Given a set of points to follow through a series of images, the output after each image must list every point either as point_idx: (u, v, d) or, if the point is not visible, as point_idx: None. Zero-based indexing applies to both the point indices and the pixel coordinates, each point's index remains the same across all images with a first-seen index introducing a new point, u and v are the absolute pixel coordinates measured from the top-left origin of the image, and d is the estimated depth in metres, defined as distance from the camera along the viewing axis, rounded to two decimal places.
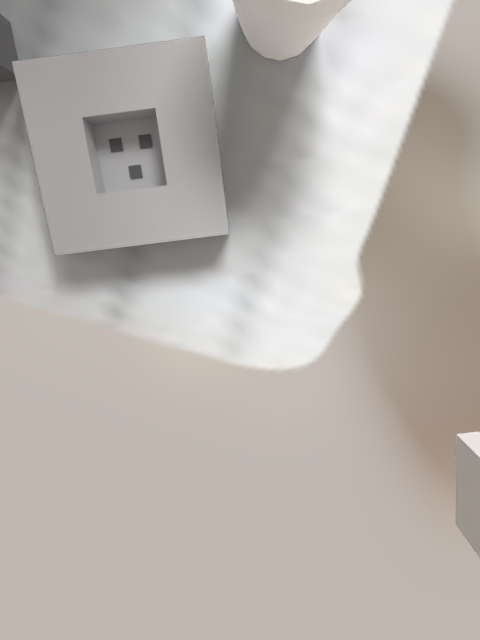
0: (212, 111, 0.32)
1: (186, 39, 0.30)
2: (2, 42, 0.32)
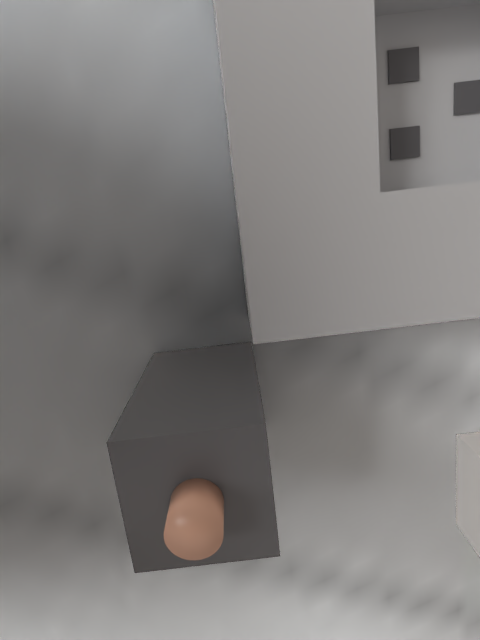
0: None
1: None
2: (202, 364, 0.15)
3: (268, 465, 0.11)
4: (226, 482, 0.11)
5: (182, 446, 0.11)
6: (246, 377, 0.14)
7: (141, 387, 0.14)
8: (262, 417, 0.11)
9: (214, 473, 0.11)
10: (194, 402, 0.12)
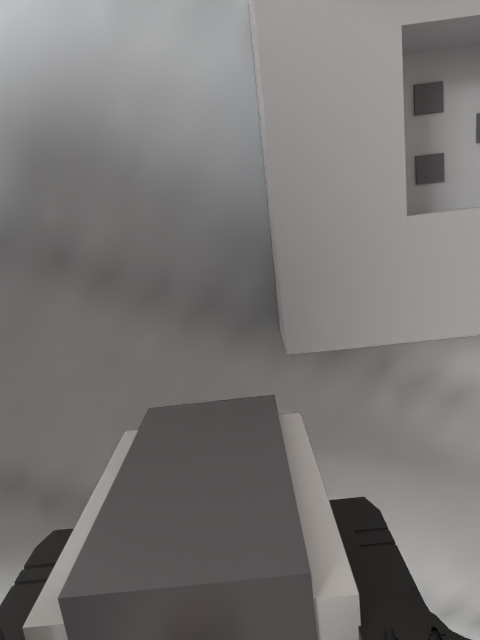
0: None
1: None
2: (211, 432, 0.11)
3: (314, 634, 0.07)
4: None
5: (178, 605, 0.07)
6: (272, 463, 0.10)
7: (125, 472, 0.10)
8: (304, 556, 0.07)
9: None
10: (198, 512, 0.08)
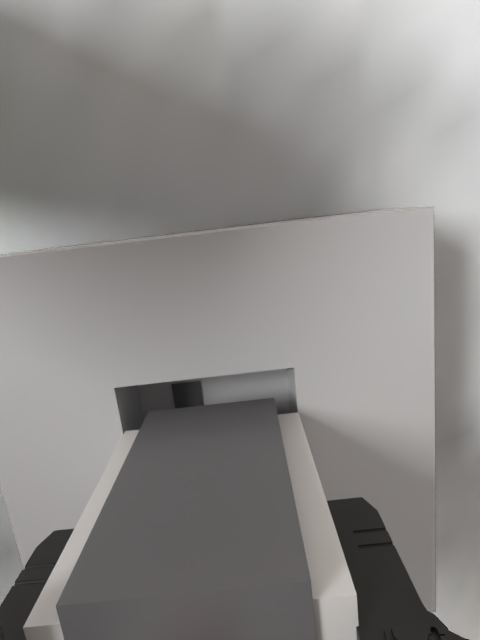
0: (113, 247, 0.12)
1: None
2: (210, 436, 0.11)
3: None
4: None
5: (176, 613, 0.07)
6: (271, 467, 0.10)
7: (124, 477, 0.10)
8: (304, 563, 0.07)
9: None
10: (197, 517, 0.08)
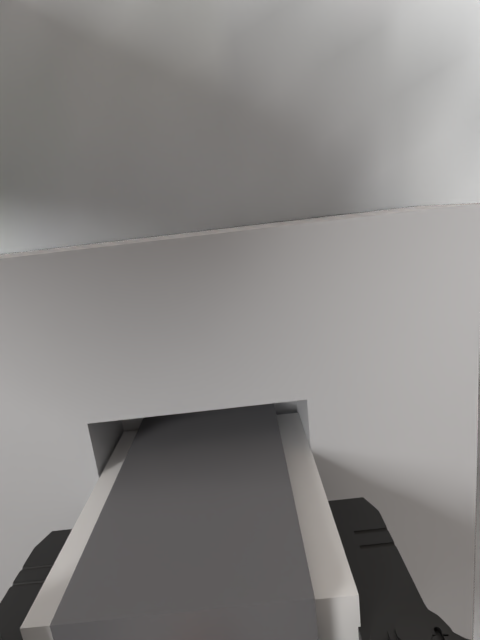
0: (83, 252, 0.10)
1: None
2: (209, 441, 0.11)
3: None
4: None
5: (176, 632, 0.06)
6: (272, 474, 0.09)
7: (121, 485, 0.10)
8: (307, 579, 0.07)
9: None
10: (196, 529, 0.08)
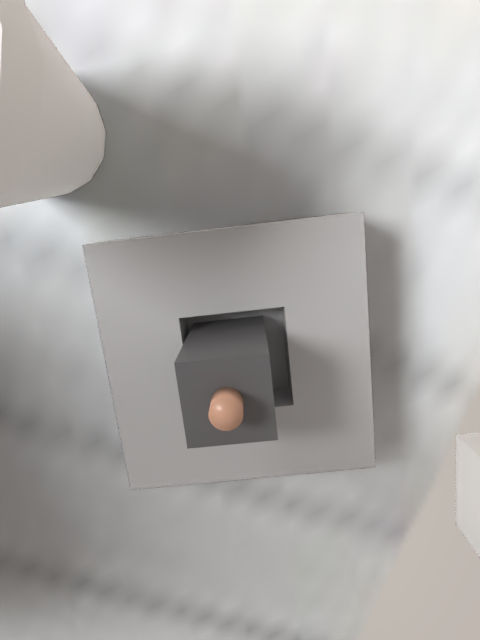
0: (181, 235, 0.21)
1: (88, 269, 0.22)
2: (229, 328, 0.23)
3: (270, 379, 0.18)
4: (245, 390, 0.18)
5: (219, 366, 0.18)
6: (258, 333, 0.21)
7: (189, 339, 0.21)
8: (267, 350, 0.18)
9: (238, 383, 0.18)
10: (225, 345, 0.19)
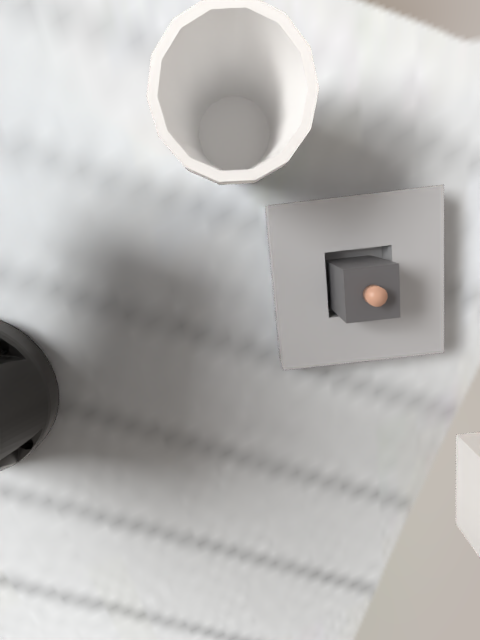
0: (330, 199, 0.34)
1: (270, 221, 0.34)
2: (354, 259, 0.35)
3: (399, 279, 0.31)
4: (383, 286, 0.31)
5: (369, 271, 0.31)
6: (379, 259, 0.34)
7: (335, 264, 0.34)
8: None
9: (379, 282, 0.31)
10: (365, 263, 0.32)
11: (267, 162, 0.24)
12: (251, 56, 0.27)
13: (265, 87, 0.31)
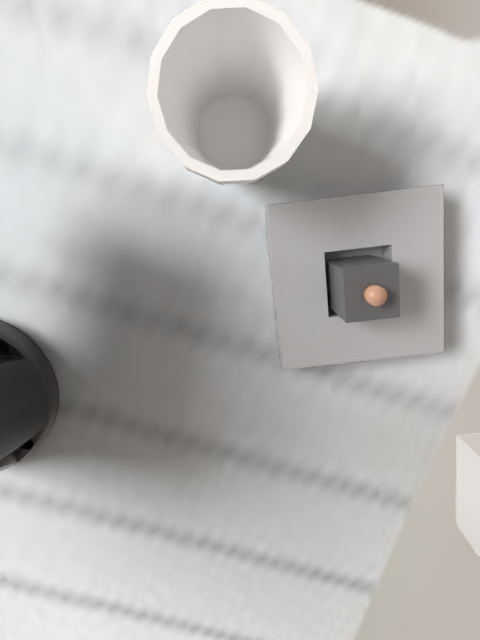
0: (329, 198, 0.34)
1: (269, 221, 0.34)
2: (354, 259, 0.35)
3: (398, 279, 0.31)
4: (383, 285, 0.31)
5: (369, 271, 0.31)
6: (379, 259, 0.34)
7: (335, 263, 0.34)
8: (396, 262, 0.31)
9: (379, 281, 0.31)
10: (364, 263, 0.32)
11: (267, 162, 0.24)
12: (250, 55, 0.27)
13: (264, 87, 0.31)
